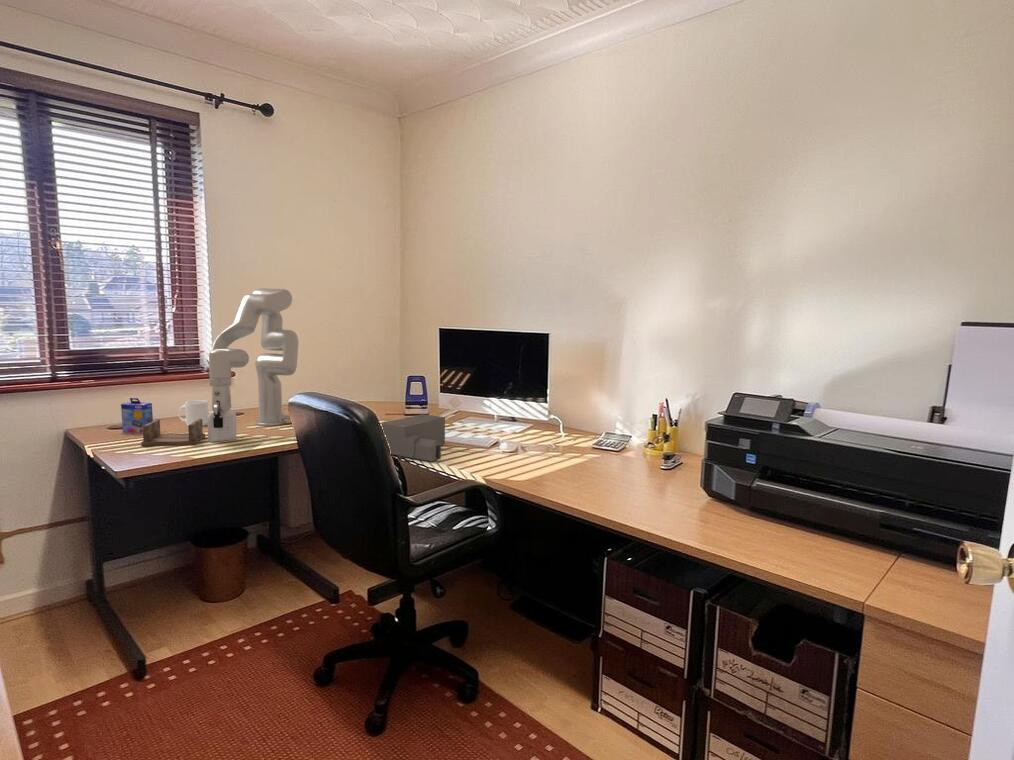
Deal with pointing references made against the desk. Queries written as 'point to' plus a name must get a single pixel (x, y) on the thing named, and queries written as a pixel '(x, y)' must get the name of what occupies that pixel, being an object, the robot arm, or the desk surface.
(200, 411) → the mug
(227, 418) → the photo printer
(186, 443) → the walnut rack
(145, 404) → the ink cartridge box
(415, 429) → the grey stepped block
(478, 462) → the desk surface
